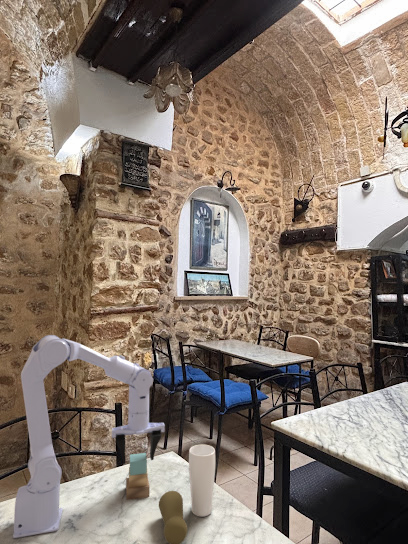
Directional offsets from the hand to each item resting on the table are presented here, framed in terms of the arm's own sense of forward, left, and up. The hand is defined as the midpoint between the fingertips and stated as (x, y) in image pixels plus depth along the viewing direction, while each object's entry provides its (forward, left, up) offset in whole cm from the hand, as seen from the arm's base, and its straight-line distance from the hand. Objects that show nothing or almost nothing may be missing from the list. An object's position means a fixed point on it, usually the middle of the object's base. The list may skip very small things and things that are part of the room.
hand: (138, 460), depth 94 cm
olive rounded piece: (+7, -12, -5) cm, 15 cm away
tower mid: (0, 0, -6) cm, 6 cm away
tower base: (0, 0, -9) cm, 9 cm away
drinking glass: (+15, -13, -9) cm, 22 cm away
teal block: (0, 0, -3) cm, 3 cm away
